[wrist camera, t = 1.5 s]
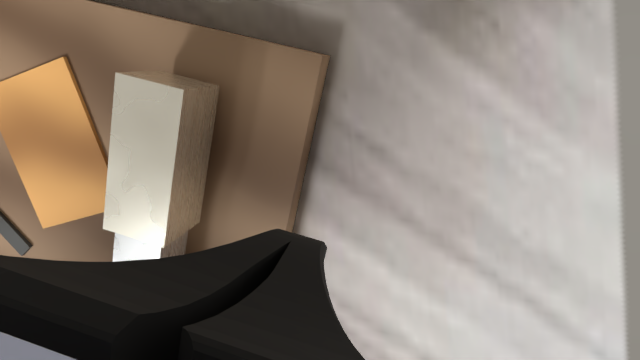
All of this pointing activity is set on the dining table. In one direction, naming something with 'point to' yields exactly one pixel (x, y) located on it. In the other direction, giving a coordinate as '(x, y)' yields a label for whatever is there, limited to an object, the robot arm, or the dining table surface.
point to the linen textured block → (157, 162)
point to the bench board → (96, 114)
